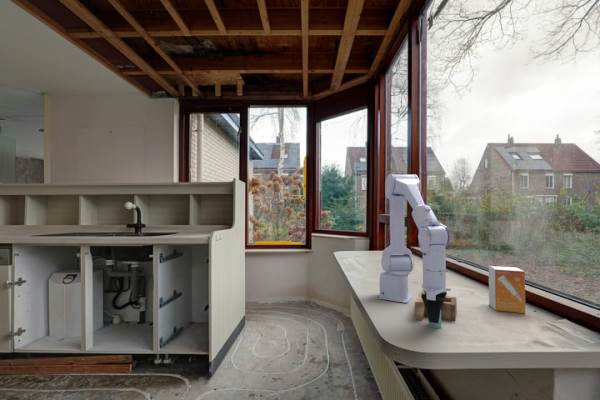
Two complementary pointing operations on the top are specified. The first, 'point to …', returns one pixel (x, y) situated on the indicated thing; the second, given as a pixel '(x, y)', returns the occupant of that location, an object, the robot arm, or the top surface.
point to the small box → (507, 289)
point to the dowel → (435, 325)
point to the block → (448, 308)
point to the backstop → (419, 306)
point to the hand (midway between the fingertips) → (434, 320)
